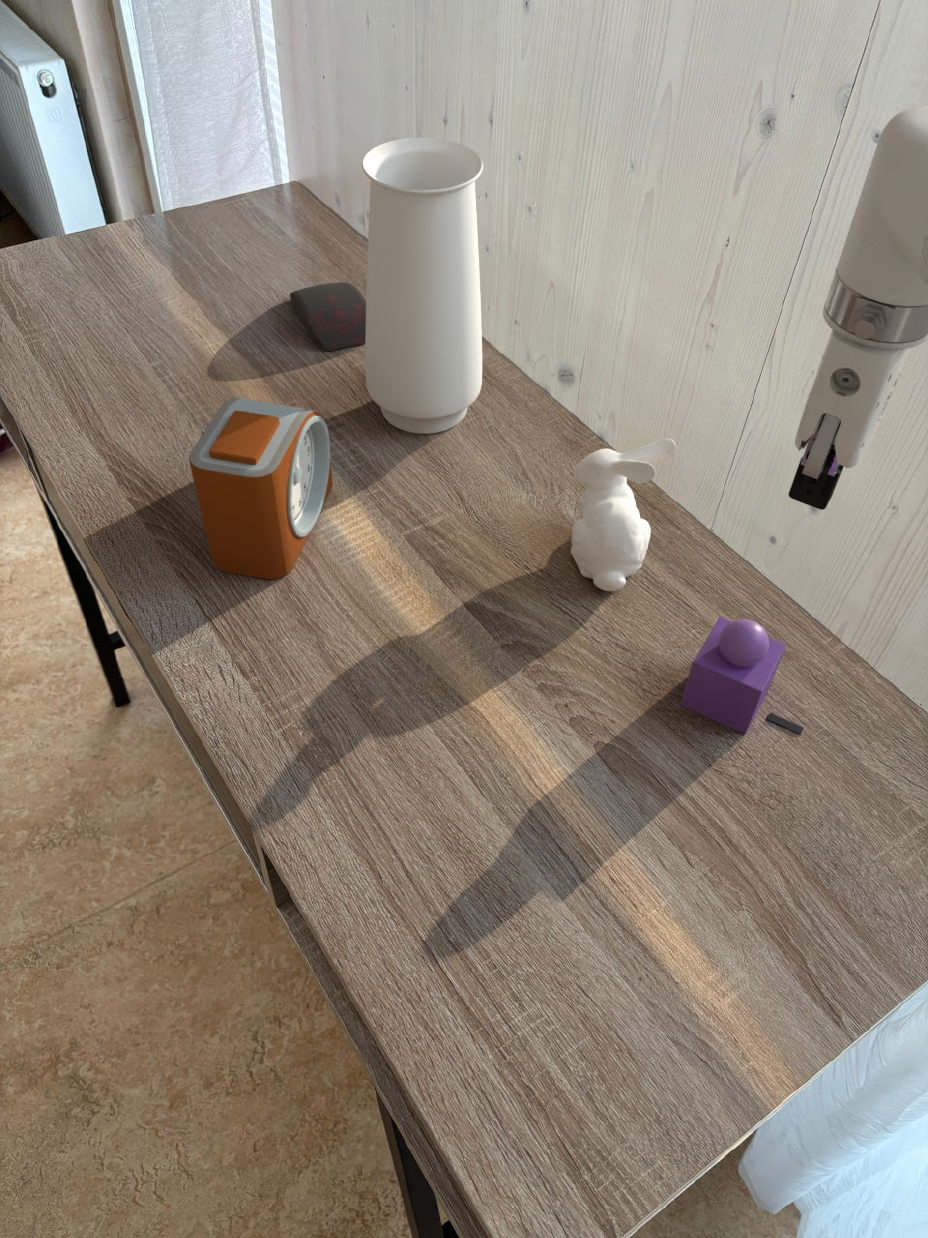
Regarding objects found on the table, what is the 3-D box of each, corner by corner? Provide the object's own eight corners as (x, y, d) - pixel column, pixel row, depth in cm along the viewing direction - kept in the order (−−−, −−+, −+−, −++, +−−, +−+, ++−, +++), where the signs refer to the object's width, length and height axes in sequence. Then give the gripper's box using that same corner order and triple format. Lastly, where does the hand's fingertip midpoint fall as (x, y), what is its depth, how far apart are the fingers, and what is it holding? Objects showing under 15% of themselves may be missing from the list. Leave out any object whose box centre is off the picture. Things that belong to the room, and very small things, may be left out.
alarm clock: (288, 584, 97) (272, 474, 87) (205, 569, 98) (179, 458, 88) (335, 486, 107) (326, 377, 97) (259, 473, 108) (241, 364, 98)
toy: (769, 688, 90) (797, 618, 83) (745, 735, 86) (772, 666, 79) (706, 660, 92) (728, 590, 85) (679, 705, 88) (700, 635, 81)
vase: (344, 407, 116) (324, 160, 95) (424, 362, 122) (423, 122, 102) (423, 458, 110) (421, 208, 89) (504, 408, 116) (519, 164, 96)
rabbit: (563, 516, 104) (575, 421, 95) (654, 518, 104) (674, 423, 95) (571, 602, 96) (585, 507, 87) (670, 604, 96) (694, 509, 87)
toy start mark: (803, 728, 87) (803, 727, 87) (800, 734, 86) (800, 734, 86) (770, 713, 88) (770, 712, 88) (767, 719, 87) (767, 719, 87)
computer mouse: (315, 355, 123) (312, 325, 120) (283, 299, 131) (280, 270, 128) (378, 341, 125) (377, 312, 122) (343, 287, 133) (341, 259, 130)
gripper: (907, 371, 65) (824, 570, 79) (962, 271, 74) (878, 466, 88) (796, 335, 68) (733, 533, 82) (861, 242, 76) (795, 436, 90)
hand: (809, 498), depth 85 cm, fingers closed
